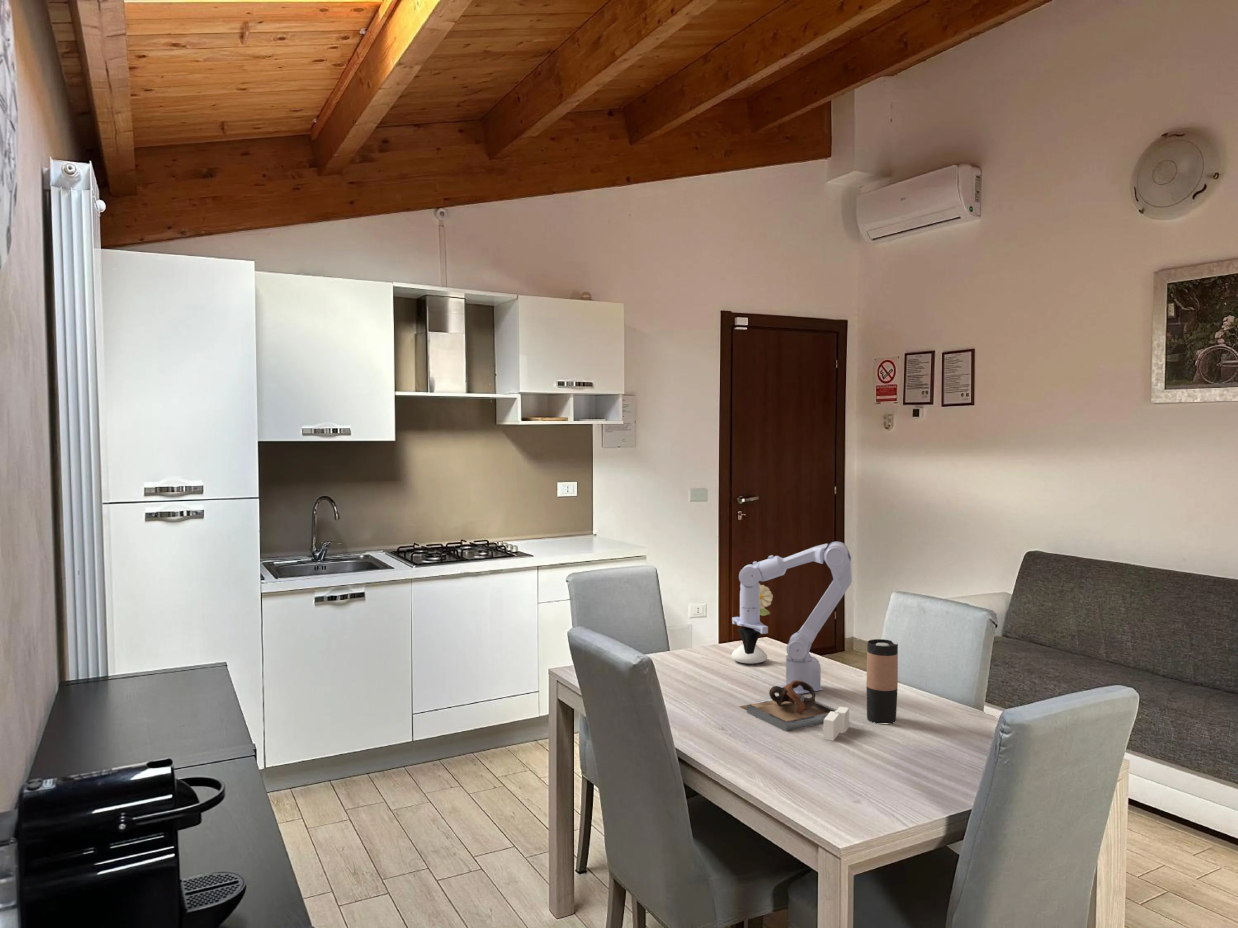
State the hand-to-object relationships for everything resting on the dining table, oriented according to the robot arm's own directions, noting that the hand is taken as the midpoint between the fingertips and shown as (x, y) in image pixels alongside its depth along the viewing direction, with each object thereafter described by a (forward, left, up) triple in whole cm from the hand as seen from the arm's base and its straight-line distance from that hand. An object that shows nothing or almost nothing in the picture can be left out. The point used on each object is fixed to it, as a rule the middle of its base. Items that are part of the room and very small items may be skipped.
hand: (749, 653), depth 255 cm
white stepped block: (+4, +42, -10) cm, 43 cm away
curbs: (+6, +27, -9) cm, 29 cm away
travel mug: (-12, +40, -10) cm, 43 cm away
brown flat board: (+6, +24, -9) cm, 26 cm away
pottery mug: (+4, +24, -9) cm, 26 cm away
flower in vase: (-16, -20, -10) cm, 27 cm away
